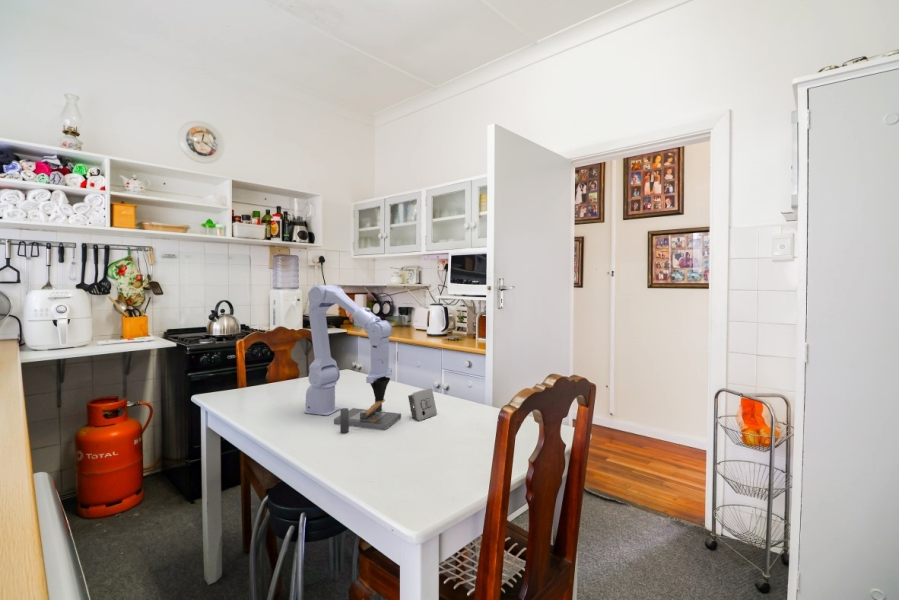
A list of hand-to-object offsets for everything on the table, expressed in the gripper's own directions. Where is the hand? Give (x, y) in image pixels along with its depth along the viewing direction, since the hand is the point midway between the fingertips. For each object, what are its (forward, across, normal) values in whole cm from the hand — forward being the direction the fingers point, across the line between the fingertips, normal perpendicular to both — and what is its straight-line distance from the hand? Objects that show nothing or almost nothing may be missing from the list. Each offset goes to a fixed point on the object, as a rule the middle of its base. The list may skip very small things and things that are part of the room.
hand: (379, 400), depth 140 cm
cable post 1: (+7, -12, +6) cm, 15 cm away
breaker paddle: (+5, 0, +4) cm, 6 cm away
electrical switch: (+8, +10, -11) cm, 17 cm away
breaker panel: (+7, 0, +4) cm, 8 cm away
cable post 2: (+7, +12, +6) cm, 15 cm away
